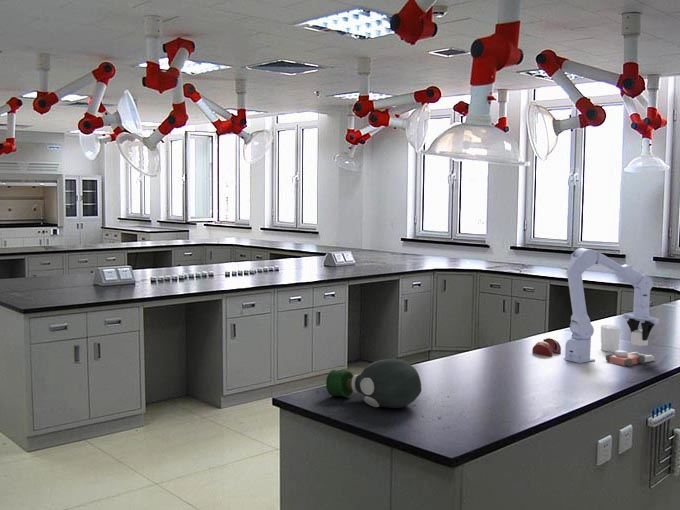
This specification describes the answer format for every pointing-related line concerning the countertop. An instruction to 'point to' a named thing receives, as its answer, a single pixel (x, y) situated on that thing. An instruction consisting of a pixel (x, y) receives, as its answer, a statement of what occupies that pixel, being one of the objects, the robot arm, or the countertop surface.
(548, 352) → the red rounded pieces
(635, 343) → the white drawer box
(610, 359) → the toy car
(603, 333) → the white cup
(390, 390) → the gas mask
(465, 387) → the countertop surface
